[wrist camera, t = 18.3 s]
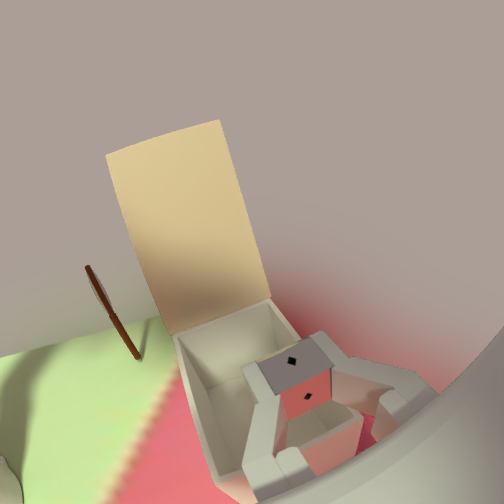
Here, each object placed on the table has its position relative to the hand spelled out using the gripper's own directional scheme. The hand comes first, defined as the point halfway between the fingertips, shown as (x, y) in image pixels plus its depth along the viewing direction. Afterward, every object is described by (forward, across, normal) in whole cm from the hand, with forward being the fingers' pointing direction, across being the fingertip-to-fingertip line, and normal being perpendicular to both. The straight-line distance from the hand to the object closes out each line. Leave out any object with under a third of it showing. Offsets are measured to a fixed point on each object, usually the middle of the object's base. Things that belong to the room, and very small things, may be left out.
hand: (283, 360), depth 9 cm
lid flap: (+25, 0, +4) cm, 25 cm away
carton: (+12, 0, +27) cm, 29 cm away
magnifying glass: (+34, +16, +27) cm, 46 cm away
